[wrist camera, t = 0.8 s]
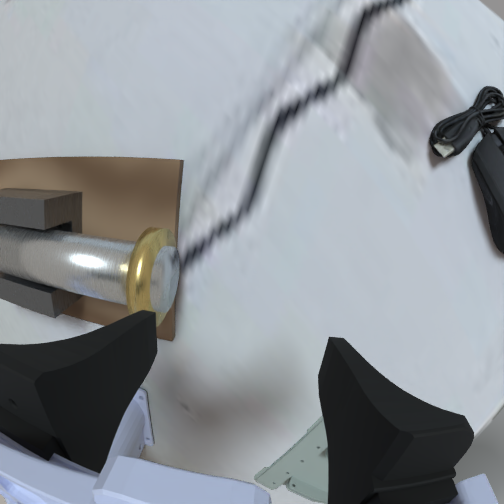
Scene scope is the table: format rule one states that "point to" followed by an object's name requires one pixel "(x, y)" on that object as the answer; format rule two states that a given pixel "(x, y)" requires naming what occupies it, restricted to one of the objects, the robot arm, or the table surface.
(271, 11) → the table surface
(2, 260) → the shaft
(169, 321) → the base board
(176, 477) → the robot arm
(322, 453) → the metal bracket
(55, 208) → the bearing block
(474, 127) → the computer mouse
